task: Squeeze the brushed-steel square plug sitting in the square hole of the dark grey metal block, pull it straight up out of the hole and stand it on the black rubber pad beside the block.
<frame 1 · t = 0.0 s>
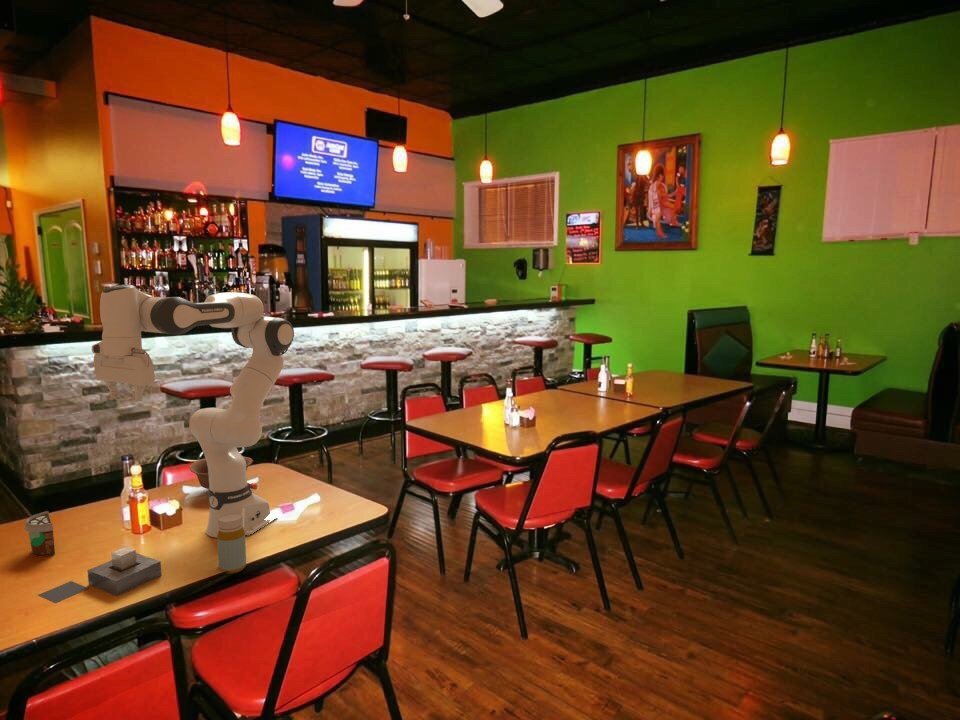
hand: (126, 399, 160), 48 cm above the table, tool pointing down, fingers open, 8 cm apart
rubber pad: (64, 595, 153), on the table
bowl: (223, 491, 228), on the table
food container: (40, 552, 177), on the table
steel plug: (125, 580, 159), point 1 cm above the table, touching socket block
socket block: (125, 583, 159), on the table
bottle: (233, 569, 168), on the table
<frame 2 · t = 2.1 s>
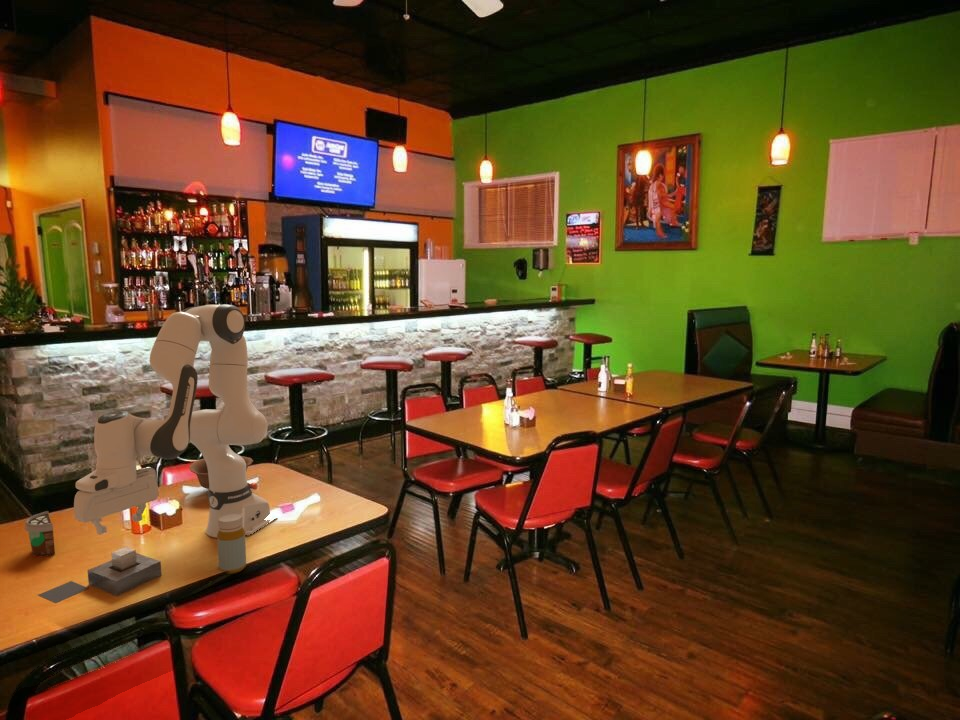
hand: (120, 527, 157), 16 cm above the table, tool pointing down, fingers open, 8 cm apart
nothing on the table moved.
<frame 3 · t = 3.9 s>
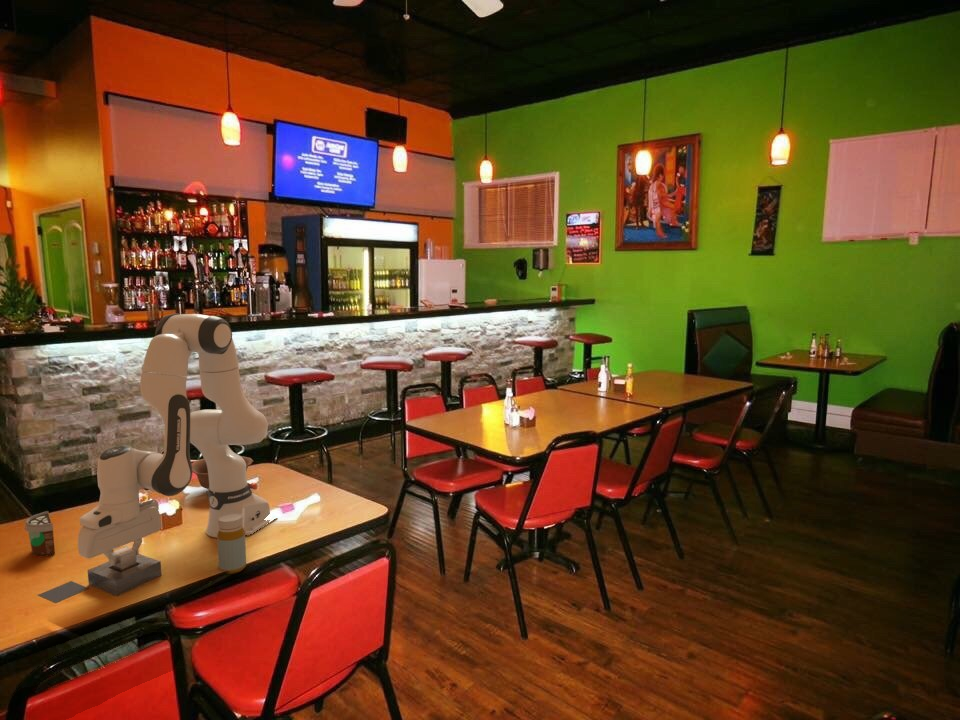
hand: (124, 559, 159), 7 cm above the table, tool pointing down, fingers closed on steel plug, 4 cm apart
steel plug: (125, 579, 159), point 1 cm above the table, touching gripper, socket block
everything else where it was.
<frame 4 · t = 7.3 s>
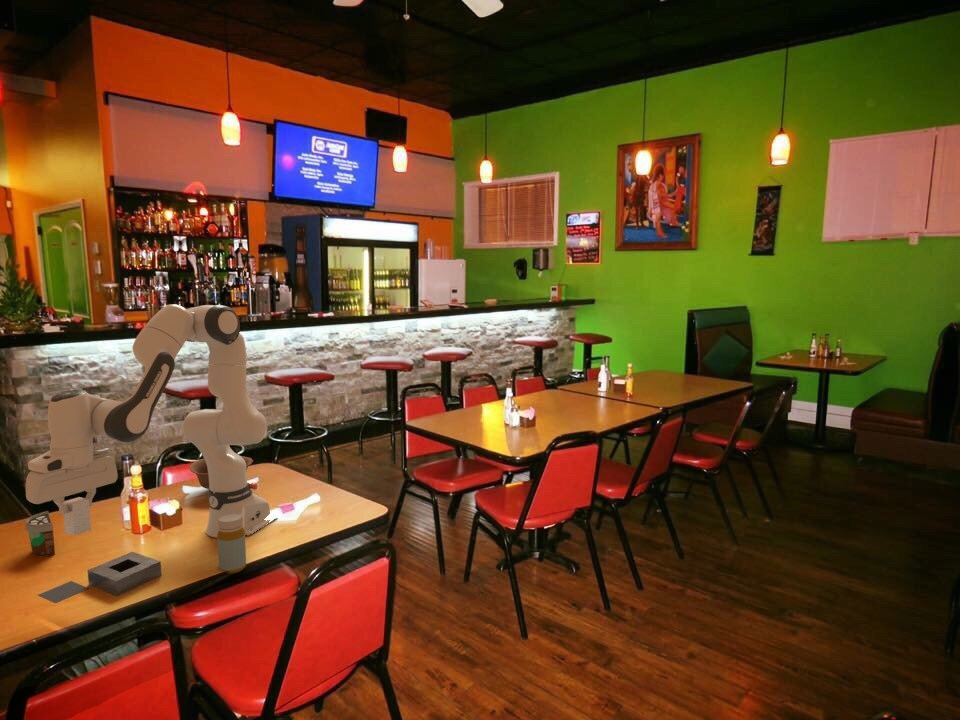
hand: (76, 509, 152), 22 cm above the table, tool pointing down, fingers closed on steel plug, 4 cm apart
steel plug: (78, 531, 153), point 16 cm above the table, touching gripper
everything else where it was.
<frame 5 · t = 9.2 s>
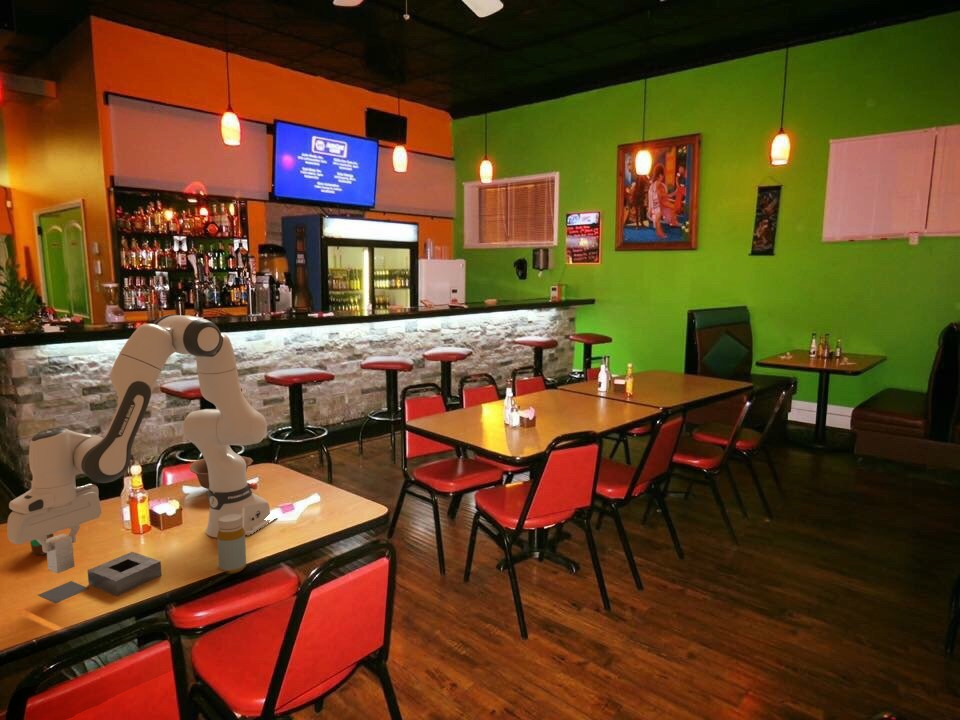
hand: (59, 547, 151), 13 cm above the table, tool pointing down, fingers closed on steel plug, 4 cm apart
steel plug: (61, 568, 152), point 7 cm above the table, touching gripper
everything else where it was.
when the fingers open (8 cm above the table, at t = 10.9 s): steel plug drops 1 cm, resting on rubber pad.
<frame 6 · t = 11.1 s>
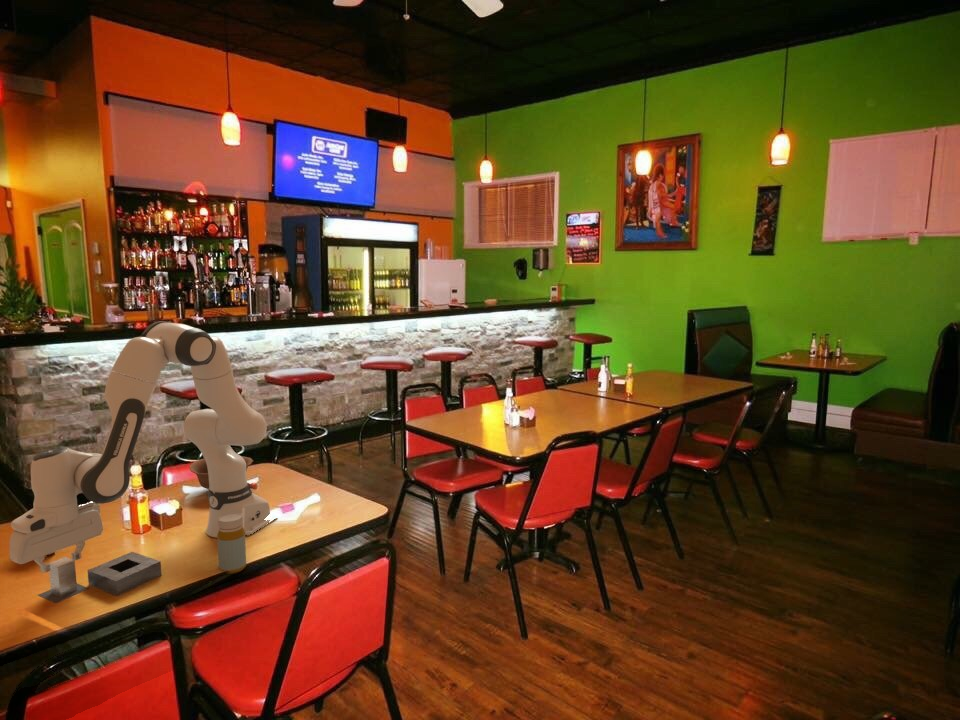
hand: (61, 565, 152), 8 cm above the table, tool pointing down, fingers open, 6 cm apart
steel plug: (64, 591, 153), point 1 cm above the table, touching rubber pad
everything else where it was.
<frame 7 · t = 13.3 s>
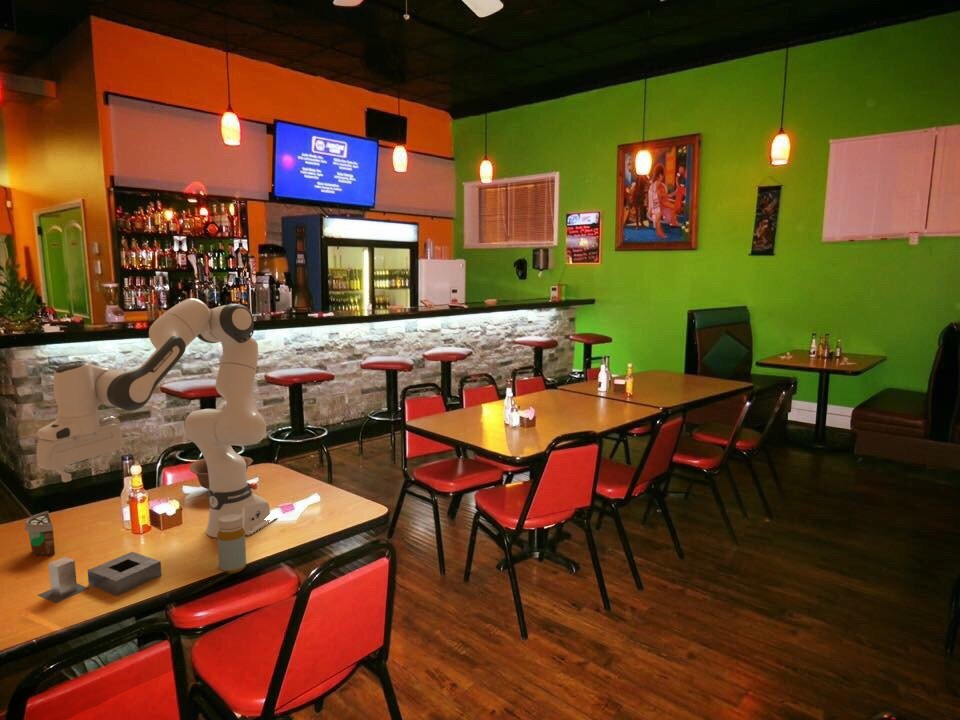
hand: (85, 475, 159), 28 cm above the table, tool pointing down, fingers open, 8 cm apart
nothing on the table moved.
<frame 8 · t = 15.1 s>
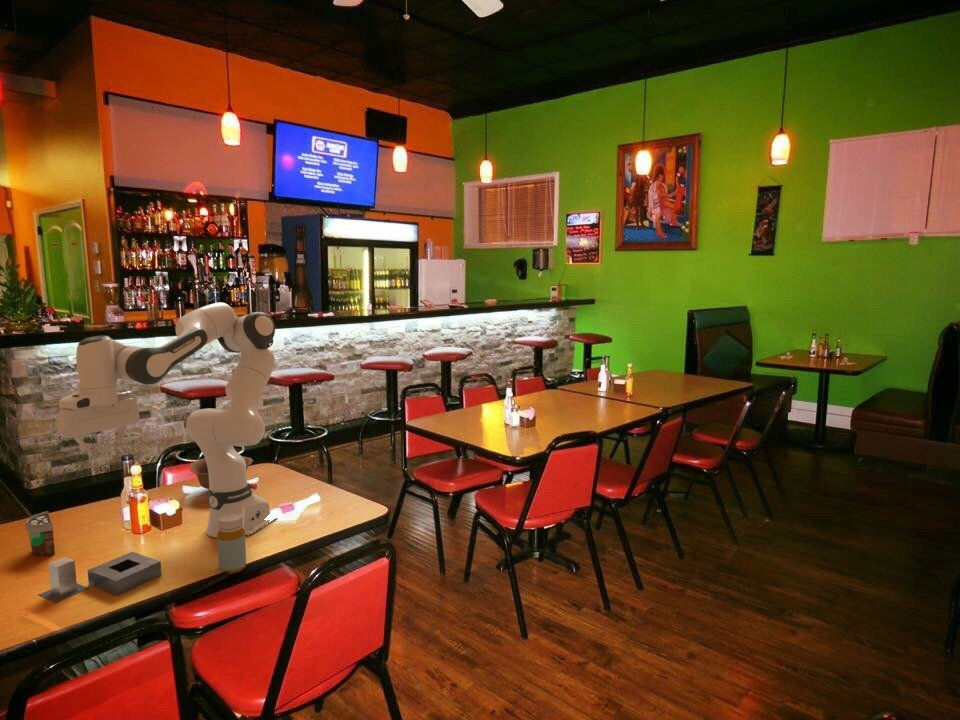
hand: (102, 446, 165), 34 cm above the table, tool pointing down, fingers open, 8 cm apart
nothing on the table moved.
at the end: steel plug inside the target area (0.1 cm from its centre), point 1.0 cm above the table; steel plug tilted 0°; steel plug touching rubber pad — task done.
